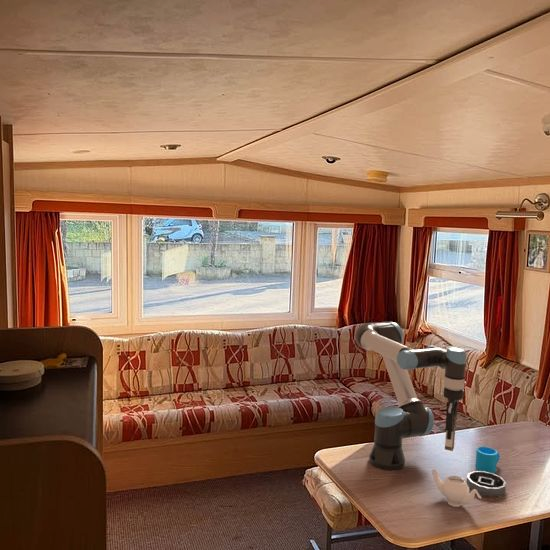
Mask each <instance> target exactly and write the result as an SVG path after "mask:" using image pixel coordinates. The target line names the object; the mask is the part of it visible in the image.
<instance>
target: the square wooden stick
mask: <svg viewBox="0 0 550 550" xmlns="http://www.w3.org/2000/svg"><path fill="white" fill-rule="evenodd" d="M456 422H457V420H456V417H454V425H453V431H454V432H453V445H452V447H448V446H445V445H444V450H447V451H450V452H453V451H454V449H455V438H456V428H457V427H456V425H457V423H456Z"/></svg>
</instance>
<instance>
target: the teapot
mask: <svg viewBox="0 0 550 550" xmlns="http://www.w3.org/2000/svg"><path fill="white" fill-rule="evenodd" d="M431 472H432V473H431V474H432V476H433V479H434V482H435V484H436V487H437V488H438V490H439V492H440V493H441V494H442V496H444V497H445V498H446V499H447V504H448V505H449V506H451V507H453V508H456V507H457V508H459V507H461V506H462V505H464V506H465V505H468V504H470V503H471V502H472V501H474V499H475V497H476V496H477V498H479V499H482V495H479V493H478V492H477V490H476V489H473V490H472V491H471V490H470V489H469V487H468V485H467V480H465V479H464V478H462V477H460V476H455V475H450V476H448V477H446V478H445V479H444V481H443V480H442V479H441V478H440V476H439V474H438V471H437V470H436V469H432V470H431ZM475 495H476V496H475Z"/></svg>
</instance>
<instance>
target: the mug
mask: <svg viewBox="0 0 550 550" xmlns="http://www.w3.org/2000/svg"><path fill="white" fill-rule="evenodd" d="M475 453H476V454H475V467H476V468H475V470H476V471H478V470H479V471H485V472H489V473H494V474H496V472H497V464H498V462H499V461H500V454H499V451H497V450H496V449H494V448H493V447H489V446H478V447H477V448H476V452H475Z"/></svg>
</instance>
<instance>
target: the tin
mask: <svg viewBox="0 0 550 550" xmlns="http://www.w3.org/2000/svg"><path fill="white" fill-rule="evenodd" d="M466 483H467V485H468V487H469V491H470V492H471V491H472V490H473V489H476V490H477V492H478V493H479V495H480V496H481V497H485V498H486V497H487V498H500V497H502V496H505V493H506V486H507V481H506V480H505V479H504V478H503V477H502V476H500V475H497V474H496V473H489V472H485V471H478V470H474V471H471V472H468V473H467V476H466Z"/></svg>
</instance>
